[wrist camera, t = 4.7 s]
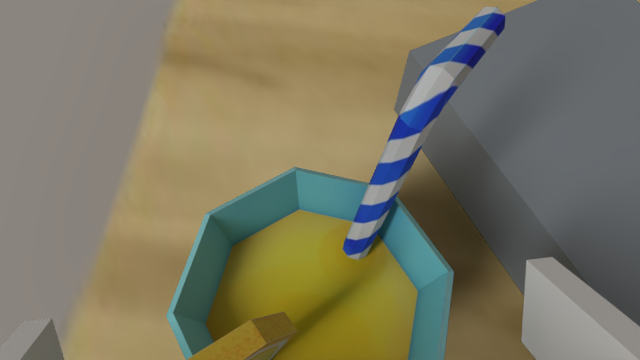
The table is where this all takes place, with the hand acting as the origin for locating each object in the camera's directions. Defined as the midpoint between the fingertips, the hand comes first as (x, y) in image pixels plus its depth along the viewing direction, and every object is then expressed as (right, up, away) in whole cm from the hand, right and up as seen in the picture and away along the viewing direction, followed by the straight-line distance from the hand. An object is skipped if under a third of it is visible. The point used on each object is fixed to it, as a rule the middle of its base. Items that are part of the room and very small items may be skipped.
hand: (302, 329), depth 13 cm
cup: (+1, -3, +9) cm, 10 cm away
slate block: (+15, +4, +13) cm, 20 cm away
